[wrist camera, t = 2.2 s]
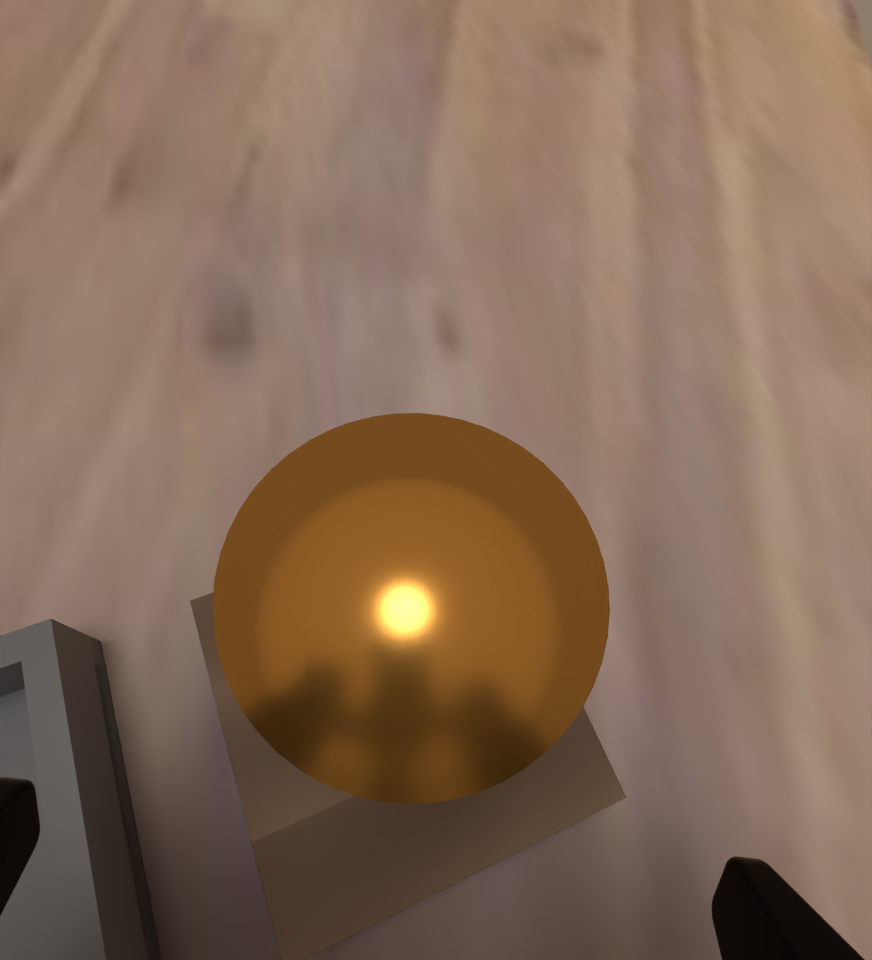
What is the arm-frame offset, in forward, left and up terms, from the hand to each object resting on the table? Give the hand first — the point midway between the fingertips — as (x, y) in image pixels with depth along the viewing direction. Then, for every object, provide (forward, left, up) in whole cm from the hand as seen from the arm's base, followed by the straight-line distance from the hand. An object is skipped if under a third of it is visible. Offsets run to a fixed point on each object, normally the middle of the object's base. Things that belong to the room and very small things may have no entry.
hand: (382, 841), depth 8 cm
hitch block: (+2, -1, -10) cm, 10 cm away
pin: (+2, -1, -10) cm, 10 cm away
